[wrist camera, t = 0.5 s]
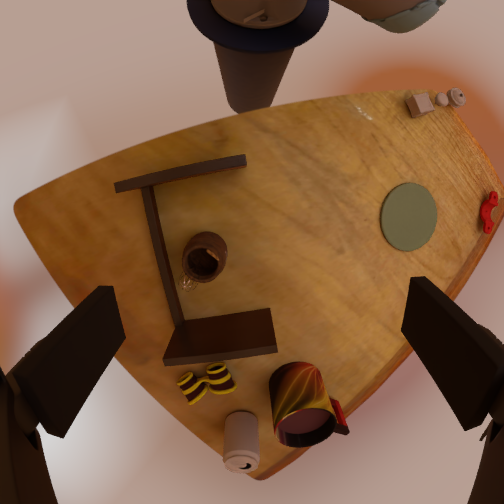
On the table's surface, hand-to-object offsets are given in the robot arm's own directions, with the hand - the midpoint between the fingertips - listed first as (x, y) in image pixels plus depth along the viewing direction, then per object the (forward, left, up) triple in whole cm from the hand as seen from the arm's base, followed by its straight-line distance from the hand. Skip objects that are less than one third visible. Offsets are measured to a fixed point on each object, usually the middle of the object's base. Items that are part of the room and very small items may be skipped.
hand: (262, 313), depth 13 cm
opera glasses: (+27, +13, -32) cm, 44 cm away
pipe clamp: (-30, +32, -30) cm, 53 cm away
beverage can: (+32, +25, -32) cm, 51 cm away
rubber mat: (-16, +20, -32) cm, 41 cm away
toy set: (-35, +10, -28) cm, 46 cm away
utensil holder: (+8, -1, -32) cm, 33 cm away
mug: (+17, +28, -32) cm, 46 cm away
